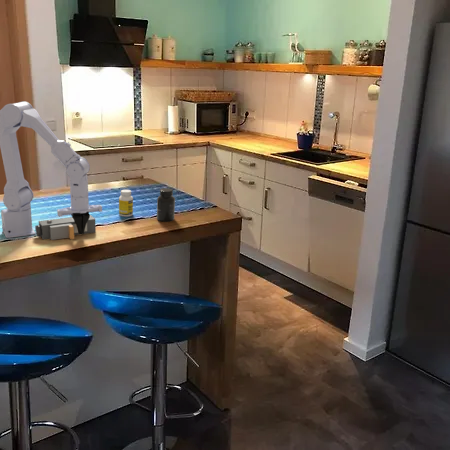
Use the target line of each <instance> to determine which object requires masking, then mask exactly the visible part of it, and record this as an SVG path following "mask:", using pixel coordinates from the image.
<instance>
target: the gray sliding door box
mask: <svg viewBox="0 0 450 450" xmlns="http://www.w3.org/2000/svg"><path fill="white" fill-rule="evenodd" d="M70 223H71V224H72V225H73V227H74V236H78V235H80V234H79V233H78V229H77V226H76V223H75V221H74V219H73V217H72V216H70V217H63V218H54V219H53V218H52V219H46V220H38V225H35V227H34V231H35V232H36V234H35V236H36V237H41V239H42V240H43V241H44V240H51V239H50V226H54V225H62V224H70ZM96 230H97V229H96V218H95V217H93V215H91V214H90V218H89V219H88V221H87V224H86V227H85V231H84V234H83V235H87V234H93V233H97V231H96Z"/></svg>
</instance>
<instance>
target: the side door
mask: <svg viewBox="0 0 450 450" xmlns="http://www.w3.org/2000/svg"><path fill="white" fill-rule="evenodd" d="M68 238H69V240H74V239H75V235H74V227H73V225H72V224H71V223H70V224H62V225H54V226H50V239H49V240H52V241H53V240H61V239H68Z"/></svg>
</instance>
